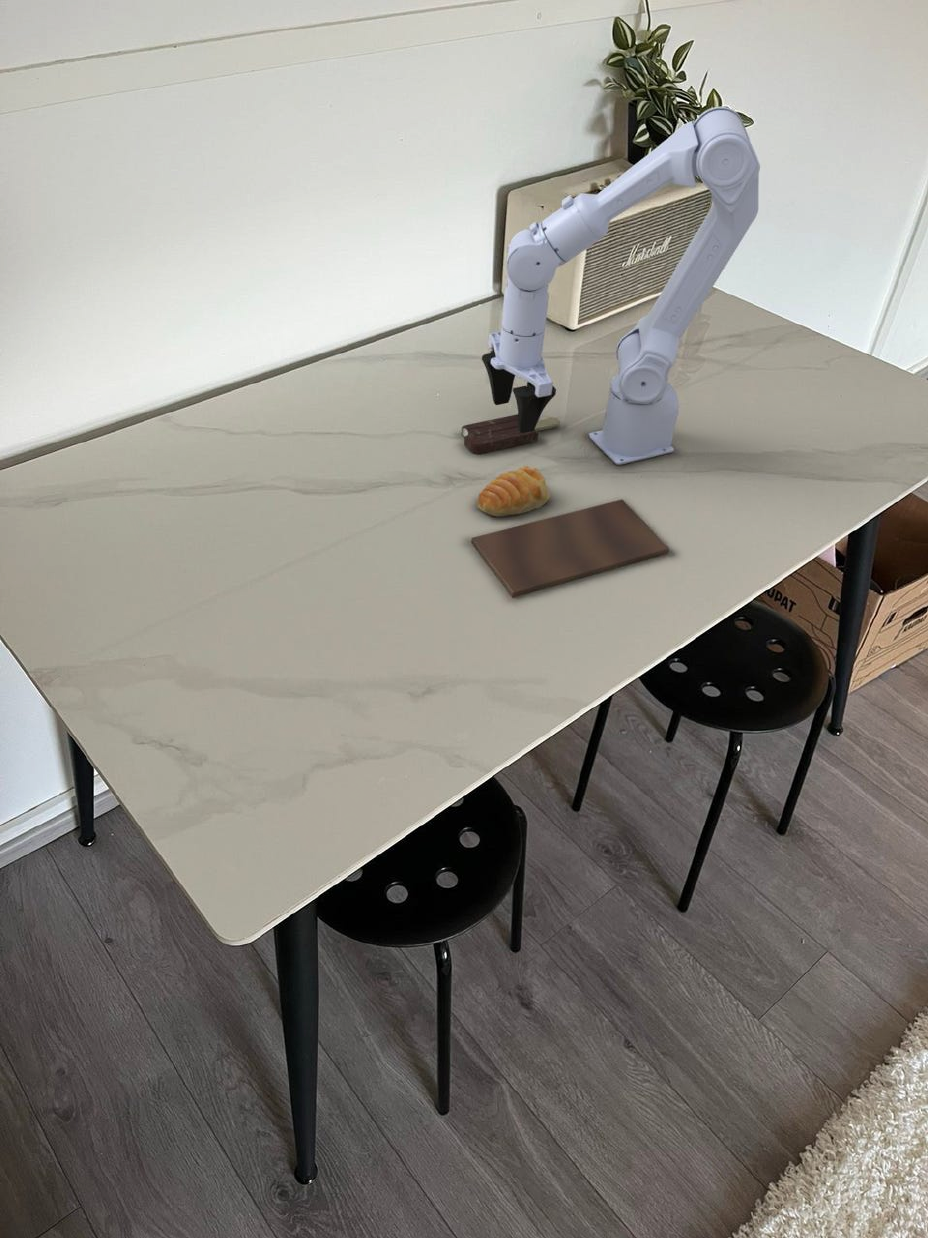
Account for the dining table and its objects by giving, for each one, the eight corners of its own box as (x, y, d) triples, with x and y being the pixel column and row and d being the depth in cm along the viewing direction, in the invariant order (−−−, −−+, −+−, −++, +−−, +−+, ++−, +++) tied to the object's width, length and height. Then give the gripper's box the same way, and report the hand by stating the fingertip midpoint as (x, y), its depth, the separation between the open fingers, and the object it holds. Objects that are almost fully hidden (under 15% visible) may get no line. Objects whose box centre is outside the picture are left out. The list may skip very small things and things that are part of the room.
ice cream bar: (549, 416, 150) (456, 436, 145) (550, 406, 149) (456, 426, 144) (567, 435, 147) (472, 456, 142) (568, 425, 146) (472, 446, 140)
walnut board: (621, 503, 135) (622, 498, 135) (668, 553, 128) (669, 548, 128) (470, 542, 128) (471, 537, 127) (512, 597, 121) (512, 592, 120)
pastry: (498, 528, 130) (500, 503, 127) (464, 502, 134) (466, 477, 131) (553, 503, 135) (556, 479, 132) (519, 479, 138) (522, 454, 136)
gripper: (471, 306, 138) (465, 396, 147) (522, 357, 128) (512, 449, 138) (518, 298, 140) (508, 387, 149) (571, 348, 131) (558, 439, 140)
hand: (513, 416), depth 144 cm, fingers open, 7 cm apart
